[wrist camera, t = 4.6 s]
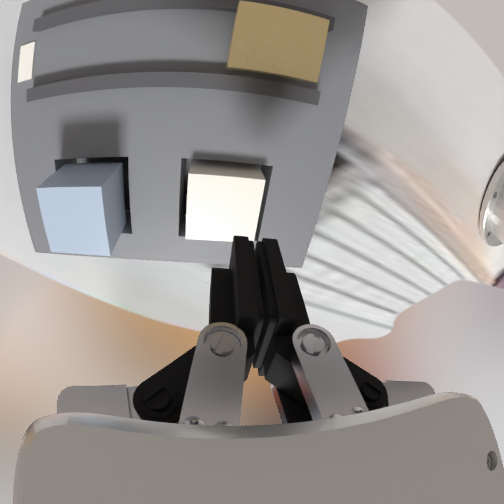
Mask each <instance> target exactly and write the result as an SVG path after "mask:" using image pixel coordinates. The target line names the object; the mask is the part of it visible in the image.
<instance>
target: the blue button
mask: <svg viewBox="0 0 504 504" xmlns="http://www.w3.org/2000/svg"><path fill="white" fill-rule="evenodd" d="M36 190H37V195H38V200H39V205H40V210H41V215H42V219H43V223H44V227H45V231H46V235H47V239H48V243H49V246H50V250H51V252H57V253H71V254H85V255H100V256H111V254H112V252H113V250H114V247H115V245H116V243H117V241H118V239H119V237H120V235H121V233H122V230H123V228H124V226H125V224H126V213H125V200H124V183H123V163H79V164H65V165H63V166H62V167H61V168H60V169H58V170H57V171H56V172H55V173H53V174H52V175H51V176H50V177H49V178H47V179H46V180H45V181H44V182H43V183H41V184H40V185H39V186H38V187H37V188H36Z"/></svg>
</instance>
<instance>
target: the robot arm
mask: <svg viewBox="0 0 504 504" xmlns="http://www.w3.org/2000/svg"><path fill="white" fill-rule="evenodd" d="M479 229H480V235H481V237H482V239H483V240H484V241H485V242H486V243H487V244H488V245H490V246H498V245H500V244H504V161H503V162H502V163H501V165H500V166H499V167H498V169H497V170H496V172H495V173H494V175H493V177H492V179H491V181H490V183H489V186H488V188H487V190H486V193H485V196H484V199H483V203H482V207H481V211H480V218H479ZM252 363H253V367H254V368H258V373H259V376H265V379H266V380H267V381H268V382H270V383H271V390H272V393H273V397H274V400H275V403H276V406H277V409H278V413H279V416H280V419H281V422H282V424H275V425H256V426H239V423H240V414H241V403H242V394H243V383H244V381H245V380H247V378H248V374H249V371H250V368H251V365H252ZM13 504H504V468H503V464H502V460H501V456H500V452H499V448H498V445H497V441H496V438H495V436H494V432H493V430H492V427H491V424H490V422H489V419H488V417H487V415H486V413H485V411H484V409H483V407H482V405H481V404H480V403H479V402H478V400H477V399H475V398H474V397H472V396H470V395H467V394H463V393H454V392H445V393H438V394H435V392H434V390H433V388H432V387H431V386H430V385H429V384H427V383H425V382H411V381H387V380H386V381H385V382H384V383H382V382H381V381H380V380H378V379H377V378H376V377H374V376H372V375H371V374H369V373H368V372H366V371H365V370H363V369H361V368H360V367H358V366H357V365H355V364H354V363H352V362H351V361H349V360H348V359H346V358H345V357H343V356H342V354H341V352H340V350H339V348H338V346H337V344H336V342H335V340H334V338H333V336H332V335H331V334H330V333H329V332H328V331H327V330H326V329H324V328H322V327H320V326H318V325H314V324H310V322H309V318H308V315H307V311H306V308H305V305H304V301H303V298H302V294H301V291H300V288H299V284H298V281H297V278H296V275H295V274H294V273H286V269H285V266H284V262H283V258H282V255H281V251H280V247H279V244H278V240H277V239H270V238H262V241H257V243H256V247H255V248H254V242H253V241H250V240H249V238H248V237H247V236H235V235H234V237H233V243H232V250H231V257H230V264H229V269H224V268H212V273H211V286H210V304H209V325H208V326H206V327H205V328H204V329H203V330H202V331H201V332H200V335H199V337H198V341H197V345H196V346H195V347H193V348H192V349H190V350H189V351H187V352H186V353H185V354H183V355H182V356H180V357H179V358H178V359H176V360H175V361H173V362H172V363H170V364H169V365H167V366H166V367H165V368H163V369H161V370H160V371H159V372H157V373H156V374H154V375H153V376H151V377H150V378H148V379H147V380H145V381H144V382H142V383H141V384H140V385H139V386H134V387H127V385H107V386H71V387H67V388H66V389H64V390H62V392H61V393H60V395H59V396H58V401H57V414H53V415H48V416H45V417H42V418H39V419H37V420H35V421H34V422H33V423H32V424H31V425H30V426H29V427H28V429H27V431H26V433H25V435H24V437H23V440H22V442H21V446H20V449H19V453H18V458H17V463H16V470H15V479H14V488H13Z"/></svg>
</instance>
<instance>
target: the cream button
mask: <svg viewBox="0 0 504 504" xmlns="http://www.w3.org/2000/svg"><path fill="white" fill-rule="evenodd" d="M265 181H266V180H265V178H264V175H263V173H262V171H261V169H260V166H259V164H250V163H240V162H229V161H217V160H204V159H192V162H191V165H190V169H189V173H188V187H187V207H186V237H185V239H193V240H211V241H228V242H233V237H234V235H235V236H247V237H248V238H249V240H250V241H253V242H254V238H255V233H256V228H257V223H258V217H259V212H260V207H261V202H262V197H263V191H264V186H265Z"/></svg>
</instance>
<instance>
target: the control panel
mask: <svg viewBox="0 0 504 504" xmlns="http://www.w3.org/2000/svg"><path fill="white" fill-rule="evenodd" d="M239 1H240V0H30V1H27V2H25V3H23V4H22V8H21V13H20V17H19V22H18V27H17V33H16V39H15V46H14V54H13V64H12V78H11V124H12V139H13V150H14V158H15V166H16V172H17V179H18V184H19V190H20V195H21V200H22V204H23V209H24V213H25V217H26V221H27V225H28V229H29V232H30V236H31V239H32V242H33V246H34V249H35V252H39V253H52V254H65V255H79V256H93V257H108V258H124V259H140V260H156V261H173V262H191V263H210V264H230V257H231V250H232V243H233V242H228V241H211V240H193V239H185V237H186V213H183V200H184V180H185V164H186V158H188V159H204V160H217V161H229V162H240V163H250V164H259V165H262V168H261V171H262V173H263V175H264V178H265V180H266V181H265V186H264V191H263V197H262V202H261V207H260V212H259V217H258V223H257V228H256V233H255V238H254V248H255V247H256V243H257V241H262V238H270V239H277V240H278V244H279V247H280V251H281V255H282V258H283V262H284V266H285V267H298V268H302V266H303V263H304V260H305V257H306V253H307V250H308V247H309V244H310V241H311V238H312V235H313V232H314V228H315V225H316V222H317V219H318V215H319V212H320V209H321V205H322V202H323V199H324V195H325V192H326V188H327V185H328V181H329V178H330V174H331V171H332V167H333V163H334V160H335V156H336V152H337V148H338V145H339V141H340V137H341V133H342V129H343V125H344V121H345V117H346V113H347V108H348V104H349V100H350V96H351V91H352V87H353V82H354V77H355V73H356V68H357V63H358V58H359V53H360V48H361V43H362V37H363V32H364V26H365V20H366V14H367V8H368V6H367V5H365V4H362V3H360V2H358V1H355V0H241V1H248V2H255V3H261V4H267V5H272V6H277V7H282V8H287V9H291V10H295V11H299V12H303V13H307V14H311V15H314V16H318V17H321V18H324V19H327V20H330V21H329V27H328V32H327V37H326V43H325V48H324V53H323V58H322V63H321V68H320V73H319V78H318V83H316V82H307V81H297V80H293V79H288V78H283V77H277V76H272V75H266V74H260V73H253V72H246V71H238V70H229V69H225V68H226V62H227V56H228V50H229V44H230V38H231V33H232V27H233V22H234V17H235V13H236V10H237V7H238V4H239ZM93 157H128V170H129V196H130V211H125V213H126V224H125V226H124V228H123V230H122V233H121V235H120V237H119V239H118V241H117V243H116V245H115V247H114V250H113V252H112V254H111V256H100V255H85V254H71V253H57V252H51V250H50V246H49V243H48V239H47V235H46V231H45V227H44V223H43V219H42V215H41V210H40V205H39V200H38V195H37V190H36V188H37V187H38V186H39V185H40V184H41V183H43V182H44V181H45V180H46V179H47V178H49V177H50V176H51V175H52V174H53V173H55V172H56V171H57V170H58V169H60V168H61V167H62V166H63V165H65V164H76V158H93Z"/></svg>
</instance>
